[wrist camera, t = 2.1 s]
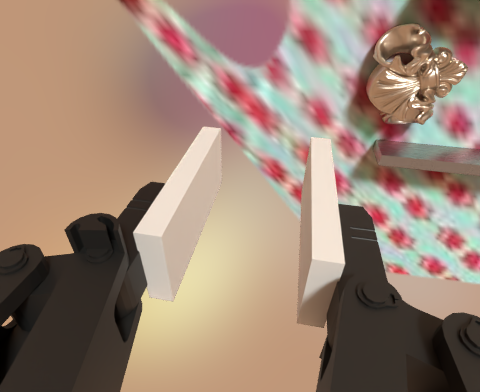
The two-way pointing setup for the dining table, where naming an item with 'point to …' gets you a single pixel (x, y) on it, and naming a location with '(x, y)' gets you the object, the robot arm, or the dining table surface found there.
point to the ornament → (411, 75)
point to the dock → (428, 157)
